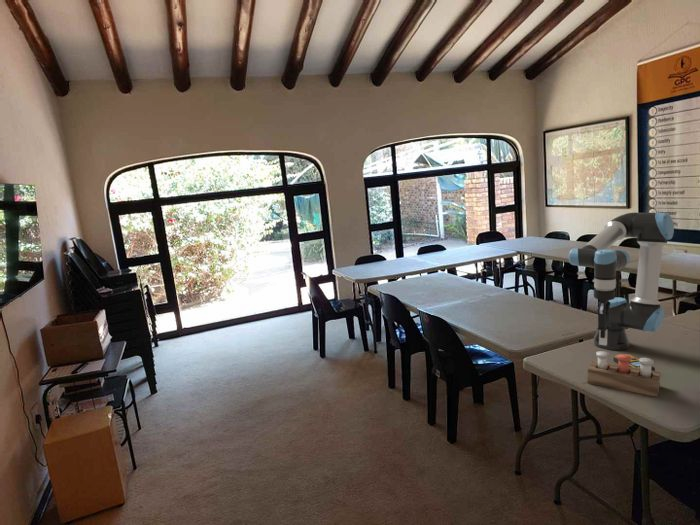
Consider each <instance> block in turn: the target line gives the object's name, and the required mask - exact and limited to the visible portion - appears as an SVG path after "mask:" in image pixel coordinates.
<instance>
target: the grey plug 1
mask: <svg viewBox="0 0 700 525" xmlns="http://www.w3.org/2000/svg"><path fill="white" fill-rule="evenodd" d="M595 354H596V355H595V356H596V357H597V361H598V369H603V370H608V363H609V362H608V361H609V358H610V356H611V354H610V353H609V352H608V351H604V350H599V351H596V352H595Z"/></svg>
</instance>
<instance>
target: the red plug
mask: <svg viewBox="0 0 700 525" xmlns="http://www.w3.org/2000/svg"><path fill="white" fill-rule="evenodd" d="M629 355H630V354H629ZM629 355H626V354H623V353H620V354H617V355H616V356H617V359H618V360H619V364H617V365H618V372H621V373H626V374H629V361H631V357H630V356H629Z"/></svg>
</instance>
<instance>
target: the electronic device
mask: <svg viewBox="0 0 700 525" xmlns="http://www.w3.org/2000/svg"><path fill="white" fill-rule="evenodd" d="M625 355H629V356H630V357H631V361H629V367H634V368H640V365H641V363H639V358H637V357H635V356H633V355H631V354H629V353H626V354H625ZM613 362H614V363H616V365H619V360H618V359H617V355H614V356H613ZM651 370H652V371H656V367H654V366H652V365H651Z"/></svg>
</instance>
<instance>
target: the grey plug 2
mask: <svg viewBox="0 0 700 525" xmlns="http://www.w3.org/2000/svg"><path fill="white" fill-rule="evenodd" d="M638 359H639V363H641V365H640V376H643V377H649V378H651V366H652V365H654V360H653V359H652V358H648V357H640V358H638Z"/></svg>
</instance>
